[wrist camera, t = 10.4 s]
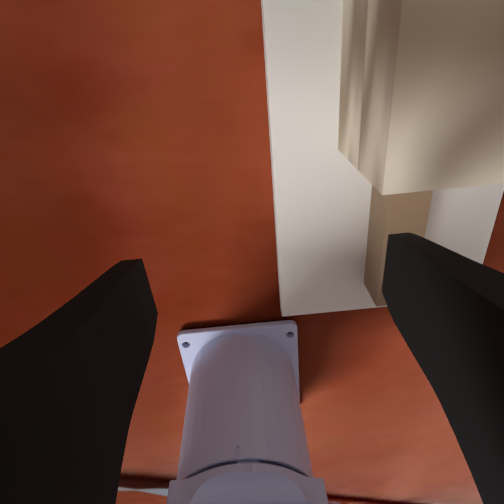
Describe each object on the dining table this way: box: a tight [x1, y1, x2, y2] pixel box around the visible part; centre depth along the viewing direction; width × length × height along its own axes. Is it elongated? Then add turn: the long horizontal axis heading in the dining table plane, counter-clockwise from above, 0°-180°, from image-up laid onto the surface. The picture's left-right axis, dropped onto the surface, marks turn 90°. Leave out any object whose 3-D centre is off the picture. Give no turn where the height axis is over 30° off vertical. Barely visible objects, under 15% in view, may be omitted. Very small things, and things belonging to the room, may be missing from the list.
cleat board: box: [261, 0, 504, 317], centre depth 16 cm, size 20×12×5 cm, turn 5°
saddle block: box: [338, 0, 504, 195], centre depth 13 cm, size 8×6×6 cm
